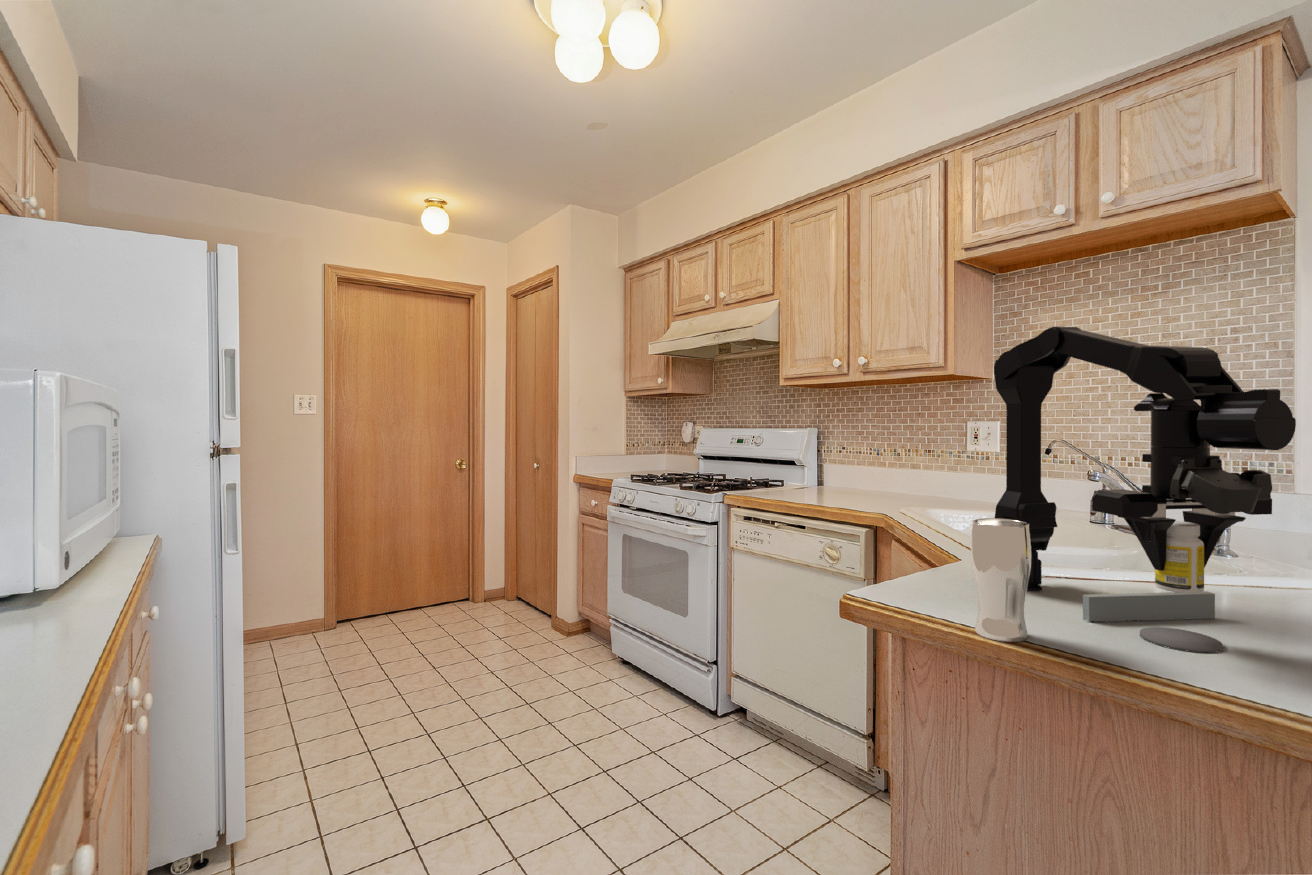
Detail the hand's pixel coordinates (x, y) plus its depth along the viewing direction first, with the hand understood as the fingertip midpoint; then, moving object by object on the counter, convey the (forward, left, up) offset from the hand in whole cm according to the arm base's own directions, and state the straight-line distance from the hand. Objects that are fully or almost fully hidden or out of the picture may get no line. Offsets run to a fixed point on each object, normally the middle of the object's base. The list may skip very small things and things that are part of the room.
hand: (1178, 569), depth 77 cm
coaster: (0, 0, -9) cm, 9 cm away
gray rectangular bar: (+1, +9, -9) cm, 13 cm away
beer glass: (-21, -1, -9) cm, 23 cm away
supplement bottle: (0, 0, -3) cm, 3 cm away
